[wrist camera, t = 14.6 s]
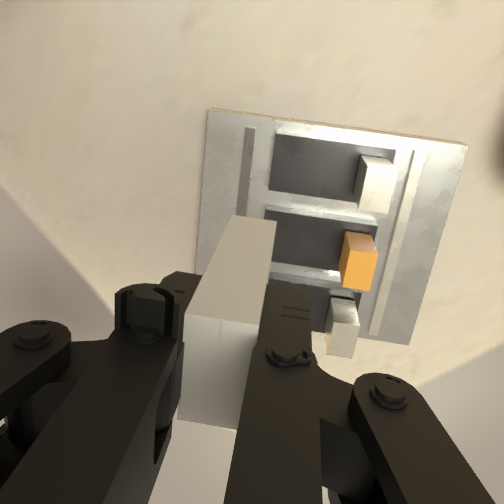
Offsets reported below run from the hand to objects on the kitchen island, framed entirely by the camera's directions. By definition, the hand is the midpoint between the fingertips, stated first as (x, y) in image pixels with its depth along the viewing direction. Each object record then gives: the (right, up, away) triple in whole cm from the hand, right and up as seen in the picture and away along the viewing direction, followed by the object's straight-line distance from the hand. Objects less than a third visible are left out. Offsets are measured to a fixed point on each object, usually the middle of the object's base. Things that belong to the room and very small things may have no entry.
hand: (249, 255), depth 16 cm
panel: (+6, +2, +25) cm, 26 cm away
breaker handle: (+8, 0, +21) cm, 23 cm away
